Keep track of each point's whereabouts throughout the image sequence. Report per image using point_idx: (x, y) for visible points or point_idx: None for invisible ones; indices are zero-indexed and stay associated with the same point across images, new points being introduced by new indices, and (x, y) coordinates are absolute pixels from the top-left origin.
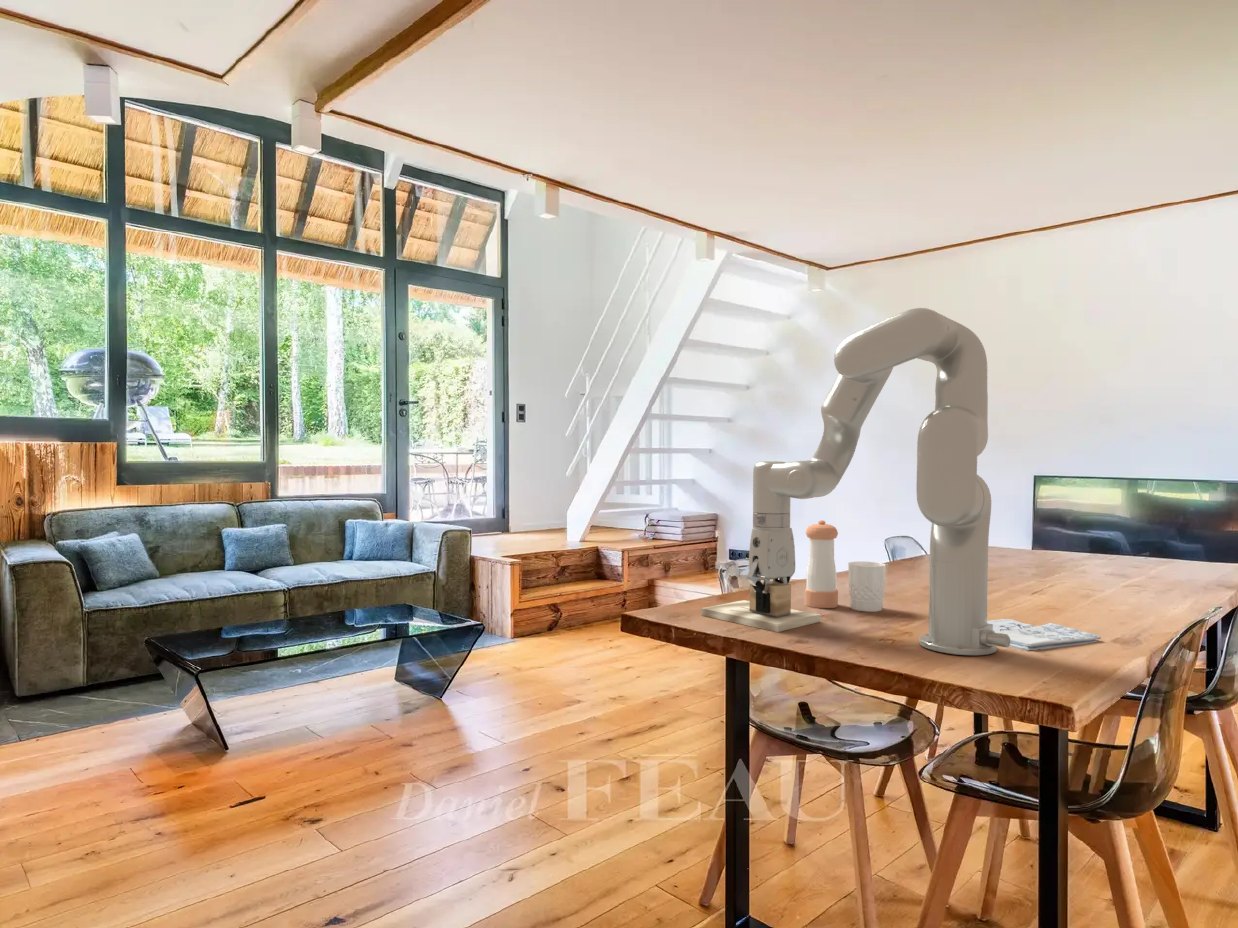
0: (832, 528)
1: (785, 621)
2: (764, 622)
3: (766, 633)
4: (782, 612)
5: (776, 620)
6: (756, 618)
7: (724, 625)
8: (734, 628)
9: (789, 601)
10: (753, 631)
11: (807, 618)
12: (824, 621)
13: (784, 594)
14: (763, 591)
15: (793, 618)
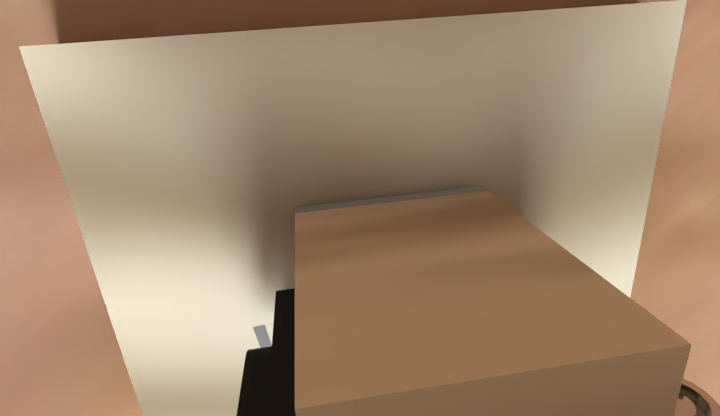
0: None
1: (547, 38)
2: (655, 137)
3: (714, 30)
4: (414, 203)
5: (568, 111)
6: (606, 244)
7: (675, 324)
8: (707, 246)
9: (320, 254)
10: (712, 126)
11: (250, 31)
12: (2, 33)
13: (444, 288)
14: (696, 401)
15: (398, 79)
